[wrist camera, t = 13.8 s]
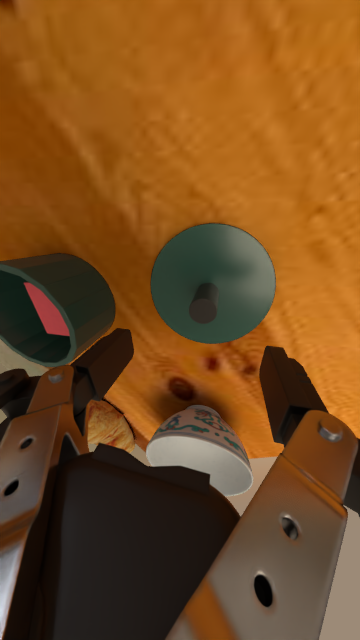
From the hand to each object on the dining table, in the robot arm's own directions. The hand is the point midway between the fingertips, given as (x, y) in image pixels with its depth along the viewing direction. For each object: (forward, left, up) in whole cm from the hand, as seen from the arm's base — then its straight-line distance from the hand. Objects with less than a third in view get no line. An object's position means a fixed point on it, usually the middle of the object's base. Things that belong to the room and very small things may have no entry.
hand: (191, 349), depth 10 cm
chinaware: (+19, +14, -11) cm, 26 cm away
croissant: (+36, 0, -11) cm, 38 cm away
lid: (0, 0, -11) cm, 11 cm away
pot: (+13, -14, -11) cm, 22 cm away
